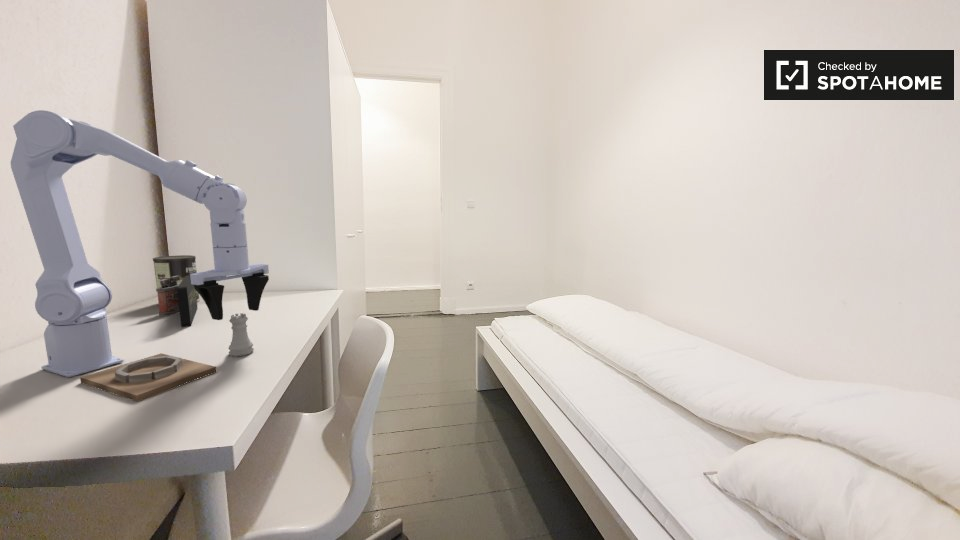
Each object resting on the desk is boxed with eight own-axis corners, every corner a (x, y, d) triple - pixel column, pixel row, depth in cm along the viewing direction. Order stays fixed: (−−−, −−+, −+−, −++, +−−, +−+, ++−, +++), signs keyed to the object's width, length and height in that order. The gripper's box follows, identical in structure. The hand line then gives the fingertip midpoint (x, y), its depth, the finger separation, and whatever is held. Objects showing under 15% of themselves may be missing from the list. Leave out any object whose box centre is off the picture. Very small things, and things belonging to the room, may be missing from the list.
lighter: (167, 316, 106) (163, 279, 104) (155, 316, 106) (151, 279, 104) (190, 308, 114) (186, 274, 112) (178, 308, 114) (174, 274, 112)
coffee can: (205, 297, 128) (200, 254, 125) (192, 305, 118) (187, 258, 116) (167, 299, 125) (162, 255, 123) (151, 307, 115) (145, 259, 113)
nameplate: (190, 326, 97) (186, 287, 96) (181, 327, 96) (177, 287, 95) (197, 308, 115) (194, 274, 113) (189, 309, 114) (186, 275, 112)
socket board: (80, 382, 66) (79, 370, 65) (161, 358, 76) (160, 347, 76) (137, 401, 59) (135, 388, 59) (216, 372, 70) (215, 360, 70)
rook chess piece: (242, 358, 77) (239, 318, 76) (223, 356, 78) (219, 317, 77) (259, 350, 81) (256, 312, 80) (240, 348, 82) (237, 311, 81)
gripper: (205, 251, 68) (213, 326, 70) (277, 244, 81) (281, 308, 83) (180, 249, 71) (188, 321, 73) (253, 243, 84) (258, 304, 86)
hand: (236, 314), depth 78 cm, fingers open, 7 cm apart
